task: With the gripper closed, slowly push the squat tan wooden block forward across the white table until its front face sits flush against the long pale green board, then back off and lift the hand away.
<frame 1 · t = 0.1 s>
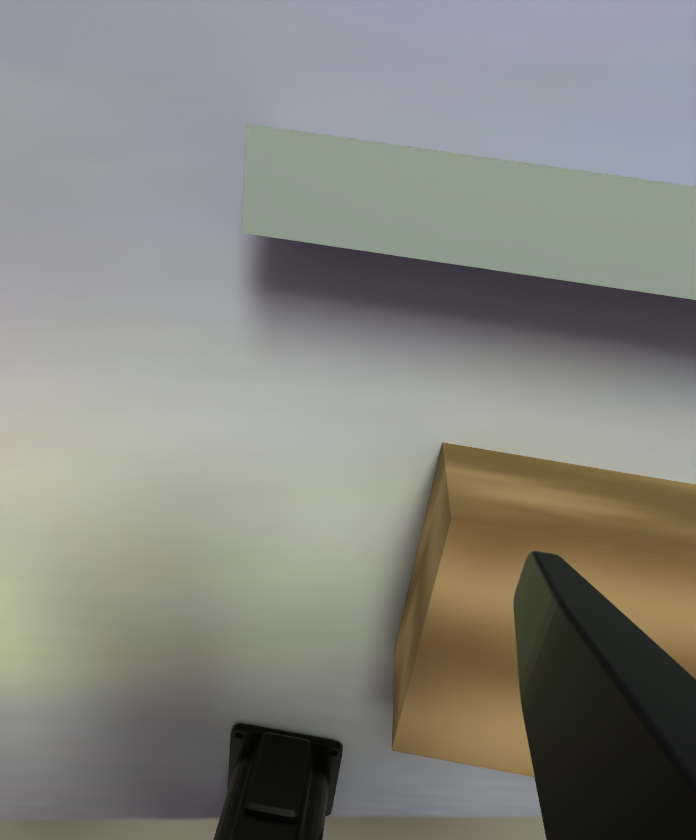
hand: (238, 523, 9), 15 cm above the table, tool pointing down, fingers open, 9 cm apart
tan wooden block: (542, 572, 27), on the table
pale green board: (664, 233, 20), on the table
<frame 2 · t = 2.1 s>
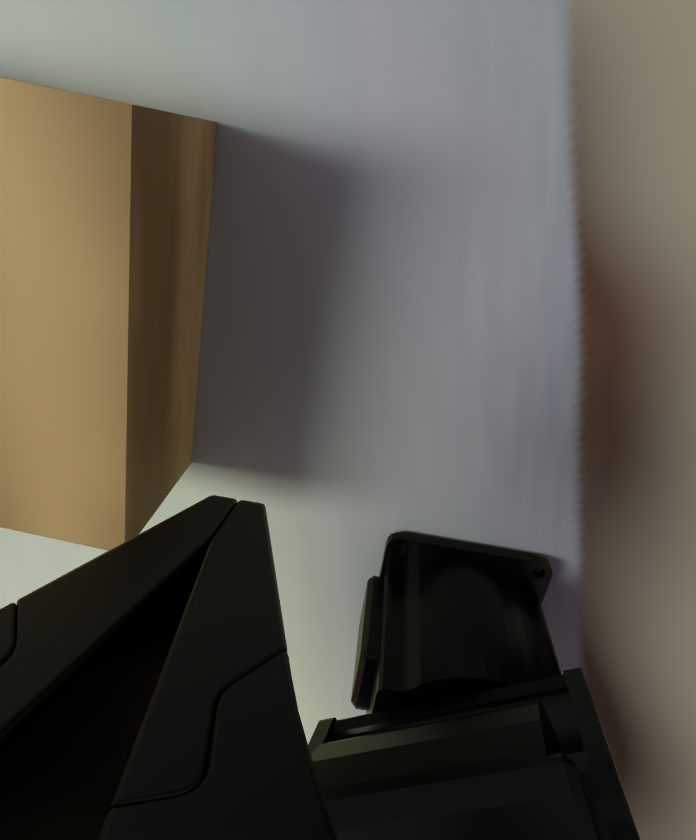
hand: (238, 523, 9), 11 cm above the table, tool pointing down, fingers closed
tan wooden block: (39, 277, 20), on the table
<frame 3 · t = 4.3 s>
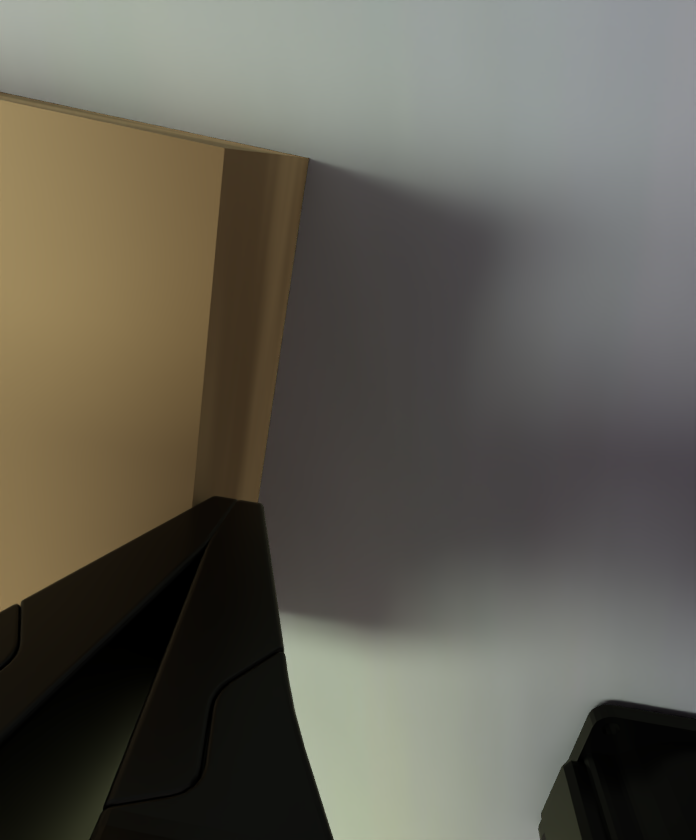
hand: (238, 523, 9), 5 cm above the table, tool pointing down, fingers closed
tan wooden block: (40, 366, 14), on the table
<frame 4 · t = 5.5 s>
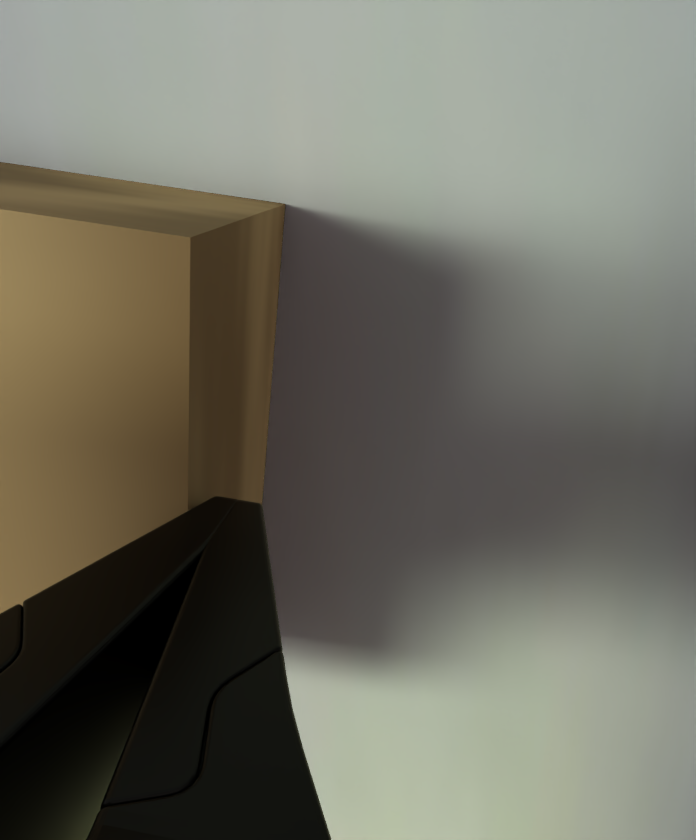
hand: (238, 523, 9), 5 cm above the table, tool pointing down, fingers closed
tan wooden block: (40, 414, 15), on the table, touching gripper
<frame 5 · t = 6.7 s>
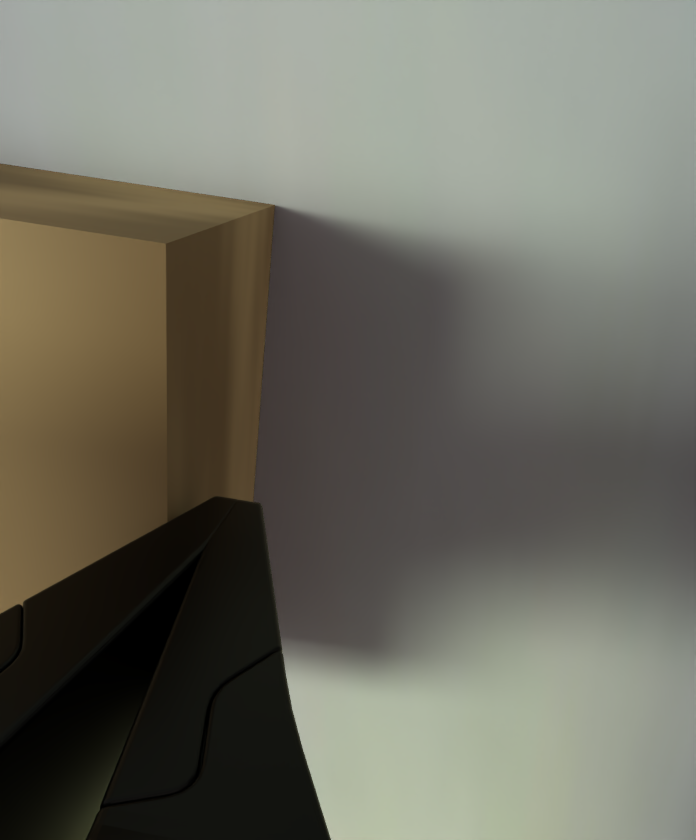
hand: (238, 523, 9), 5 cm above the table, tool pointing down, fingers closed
tan wooden block: (24, 419, 14), on the table
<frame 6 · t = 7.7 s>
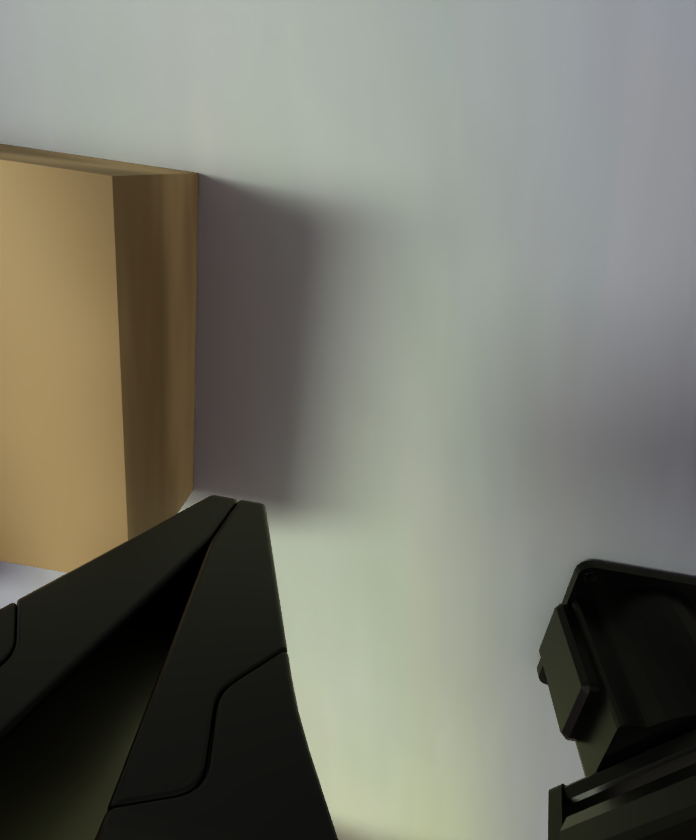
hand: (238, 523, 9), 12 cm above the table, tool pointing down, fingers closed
tan wooden block: (41, 323, 21), on the table
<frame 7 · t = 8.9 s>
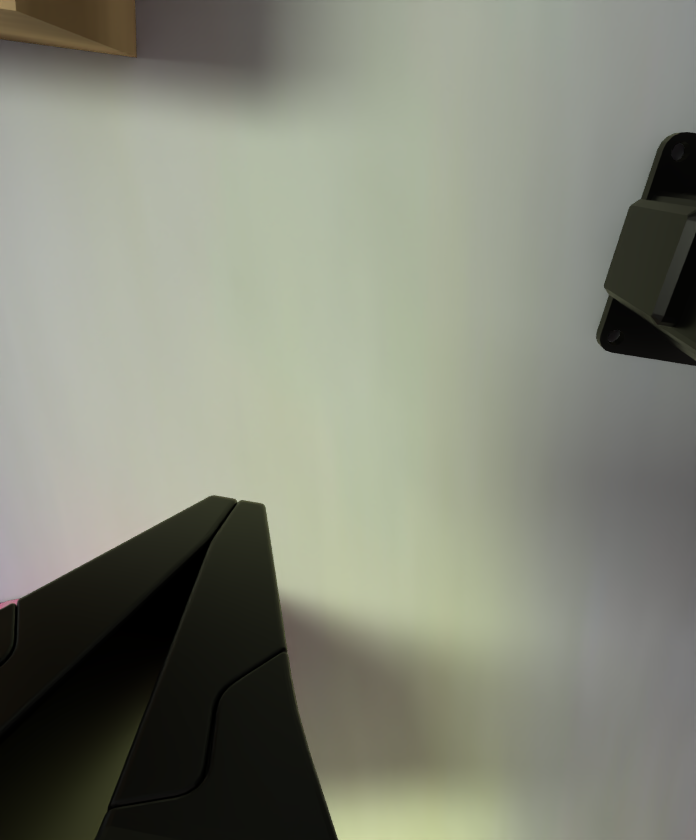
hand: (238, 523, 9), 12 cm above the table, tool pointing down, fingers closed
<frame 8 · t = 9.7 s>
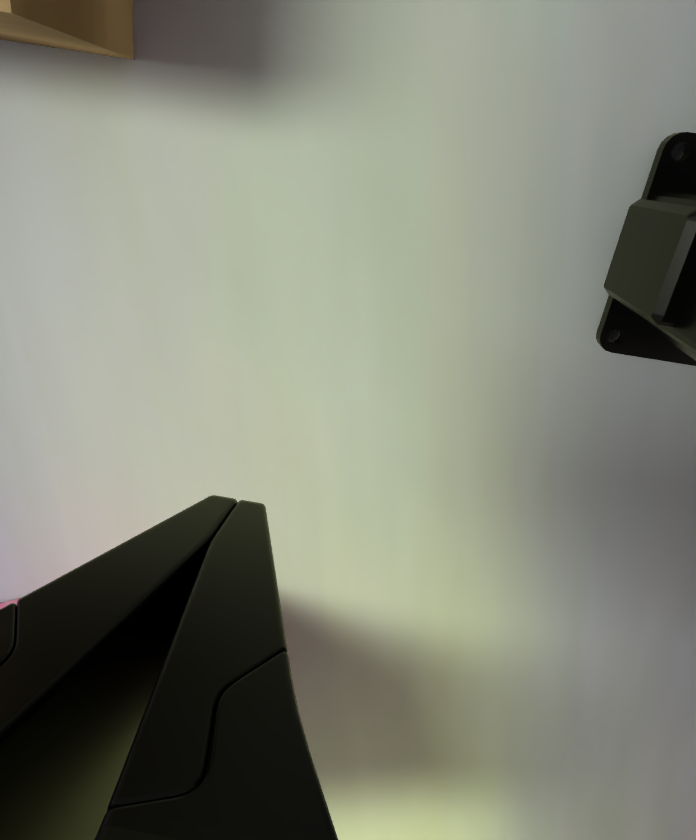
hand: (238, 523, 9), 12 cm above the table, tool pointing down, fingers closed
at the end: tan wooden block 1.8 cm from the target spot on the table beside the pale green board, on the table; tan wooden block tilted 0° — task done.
